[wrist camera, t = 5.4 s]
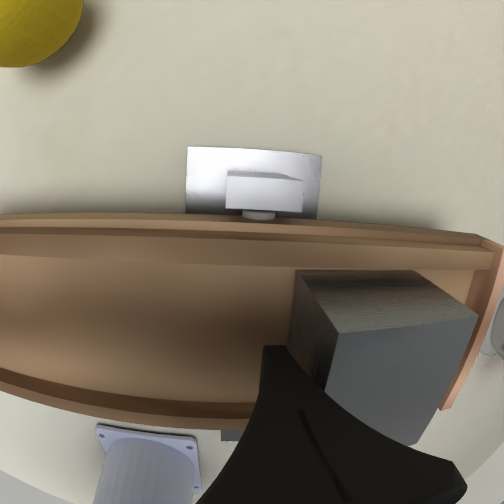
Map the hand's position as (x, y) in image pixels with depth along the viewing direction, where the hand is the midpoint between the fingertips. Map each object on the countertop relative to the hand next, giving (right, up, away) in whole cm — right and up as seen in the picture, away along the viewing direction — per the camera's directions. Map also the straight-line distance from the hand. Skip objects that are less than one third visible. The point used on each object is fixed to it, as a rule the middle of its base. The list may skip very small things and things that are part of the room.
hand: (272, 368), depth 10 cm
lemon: (-11, +16, +1) cm, 19 cm away
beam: (-3, +1, +3) cm, 4 cm away
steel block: (+3, 0, +2) cm, 4 cm away
